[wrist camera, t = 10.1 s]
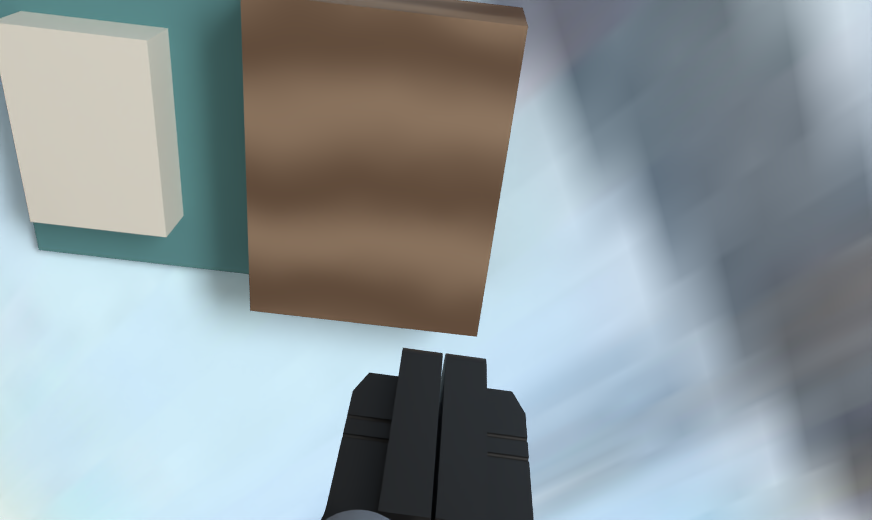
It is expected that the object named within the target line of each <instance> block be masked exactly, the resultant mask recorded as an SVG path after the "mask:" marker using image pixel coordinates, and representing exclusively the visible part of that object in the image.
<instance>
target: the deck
mask: <svg viewBox="0 0 872 520" xmlns="http://www.w3.org/2000/svg"><path fill="white" fill-rule="evenodd" d="M527 29H528V25H527V22H526V18H525V15H524V11H523V8H520V7H511V6H503V5H494V4H486V3H478V2H469V1H461V0H241V31H242V63H243V95H244V126H245V158H246V190H247V221H248V253H249V285H250V311H258V312H267V313H276V314H285V315H293V316H302V317H311V318H319V319H328V320H337V321H345V322H354V323H363V324H372V325H380V326H389V327H398V328H406V329H415V330H424V331H433V332H441V333H450V334H459V335H467V336H476V337H477V332H478V326H479V320H480V314H481V308H482V302H483V296H484V289H485V283H486V277H487V271H488V265H489V259H490V253H491V247H492V241H493V235H494V229H495V223H496V217H497V211H498V205H499V199H500V192H501V186H502V180H503V174H504V168H505V162H506V156H507V150H508V144H509V138H510V132H511V126H512V120H513V114H514V108H515V102H516V96H517V89H518V83H519V77H520V71H521V65H522V59H523V53H524V47H525V41H526V35H527Z"/></svg>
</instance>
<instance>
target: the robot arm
mask: <svg viewBox="0 0 872 520" xmlns="http://www.w3.org/2000/svg"><path fill="white" fill-rule="evenodd" d="M442 358H443V353H437V352H430V351H423V350H415V349H408V348H403V350H402V357H401V363H400V370H399V376H391V375H383V374H376V373H369V374H368V375H367V376H366V377H365V378H364V379H363V380H362V381H361V382H360V384H359V385H358V386H357V387H356V388H355V389H354V390H353V393H352V397H351V401H350V406H349V410H348V415H347V419H346V423H345V428H344V432H343V438H342V441H341V445H340V449H339V454H338V458H337V462H336V467H335V471H334V475H333V480H332V484H331V488H330V493H329V497H328V502H327V506H326V509H325V512H324V515H323V517H322V519H321V520H533V507H532V494H531V481H530V468H529V462H528V458H529V455H528V442H527V428H526V415H525V412H524V411H523V409H522V407H521V406H520V404H519V402H518V401H517V399H516V397H515V396H514V394H513V392H511V391H504V390H496V389H489V388H487V364H486V359H483V358H476V357H468V356H461V355H453V354H446V355H445V359H444V364H443V370H442ZM441 372H442V376H441Z"/></svg>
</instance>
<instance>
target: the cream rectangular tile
mask: <svg viewBox="0 0 872 520" xmlns="http://www.w3.org/2000/svg"><path fill="white" fill-rule="evenodd" d="M0 75H1V80H2V85H3V90H4V95H5V99H6V104H7V109H8V114H9V119H10V124H11V129H12V134H13V139H14V143H15V148H16V153H17V158H18V163H19V168H20V173H21V178H22V183H23V187H24V192H25V197H26V202H27V207H28V212H29V217H30V222H37V223H46V224H54V225H63V226H72V227H81V228H89V229H98V230H107V231H115V232H124V233H133V234H142V235H150V236H159V237H167V236H168V235H169V233H170V232H171V231H172V230H173V228H174V227H175V226H176V225H177V223H178V222H179V221H180V220H181V218H182V217H183V216H184V215H183V203H182V191H181V179H180V167H179V155H178V143H177V131H176V119H175V107H174V94H173V82H172V70H171V58H170V46H169V34H168V28H162V27H153V26H145V25H136V24H128V23H119V22H110V21H102V20H93V19H85V18H76V17H68V16H59V15H51V14H42V13H34V12H25V11H19V12H17V13H14V14H11V15H8V16H5V17H2V18H0Z"/></svg>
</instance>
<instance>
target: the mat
mask: <svg viewBox="0 0 872 520" xmlns="http://www.w3.org/2000/svg"><path fill="white" fill-rule="evenodd" d="M19 11H25V12H34V13H42V14H51V15H59V16H68V17H76V18H85V19H93V20H102V21H110V22H119V23H128V24H136V25H145V26H153V27H162V28H168V34H169V46H170V58H171V70H172V82H173V94H174V107H175V119H176V131H177V143H178V155H179V167H180V179H181V191H182V203H183V215H184V216H183V217H182V218H181V220H180V221H179V222H178V223H177V225H176V226H175V227H174V228H173V230H172V231H171V232H170V233H169V235H168V236H167V237H159V236H150V235H142V234H133V233H124V232H115V231H107V230H98V229H89V228H81V227H72V226H63V225H54V224H46V223H37V222H33V223H34V228H35V233H36V238H37V243H38V248H39V250H45V251H54V252H63V253H71V254H80V255H89V256H97V257H106V258H115V259H123V260H132V261H141V262H149V263H158V264H167V265H175V266H184V267H193V268H201V269H210V270H219V271H227V272H236V273H245V274H249V253H248V221H247V190H246V158H245V126H244V95H243V63H242V31H241V0H0V18H2V17H5V16H8V15H11V14H14V13H17V12H19Z"/></svg>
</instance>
